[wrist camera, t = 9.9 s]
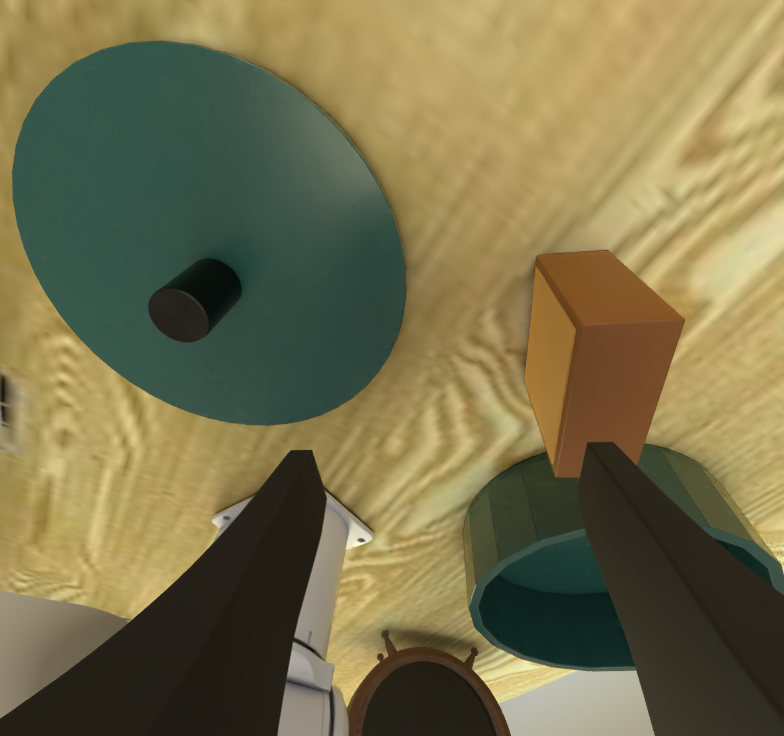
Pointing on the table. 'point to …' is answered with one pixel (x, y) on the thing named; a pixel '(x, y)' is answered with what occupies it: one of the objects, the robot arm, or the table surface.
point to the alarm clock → (424, 697)
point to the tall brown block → (595, 355)
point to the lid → (209, 232)
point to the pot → (576, 560)
